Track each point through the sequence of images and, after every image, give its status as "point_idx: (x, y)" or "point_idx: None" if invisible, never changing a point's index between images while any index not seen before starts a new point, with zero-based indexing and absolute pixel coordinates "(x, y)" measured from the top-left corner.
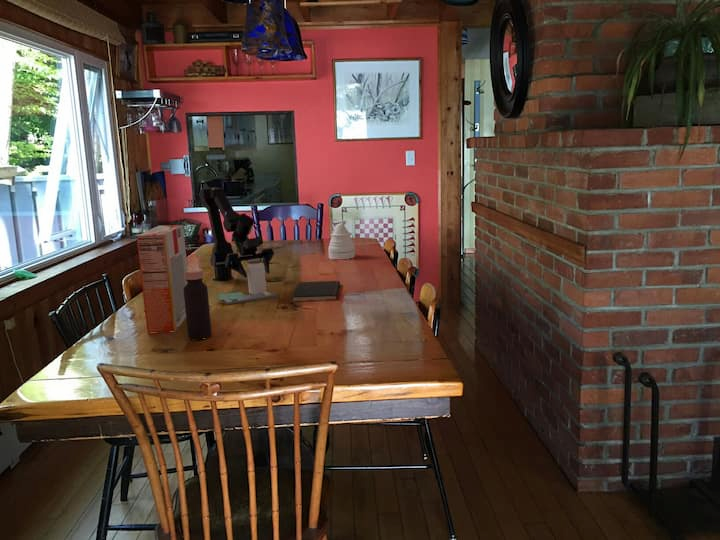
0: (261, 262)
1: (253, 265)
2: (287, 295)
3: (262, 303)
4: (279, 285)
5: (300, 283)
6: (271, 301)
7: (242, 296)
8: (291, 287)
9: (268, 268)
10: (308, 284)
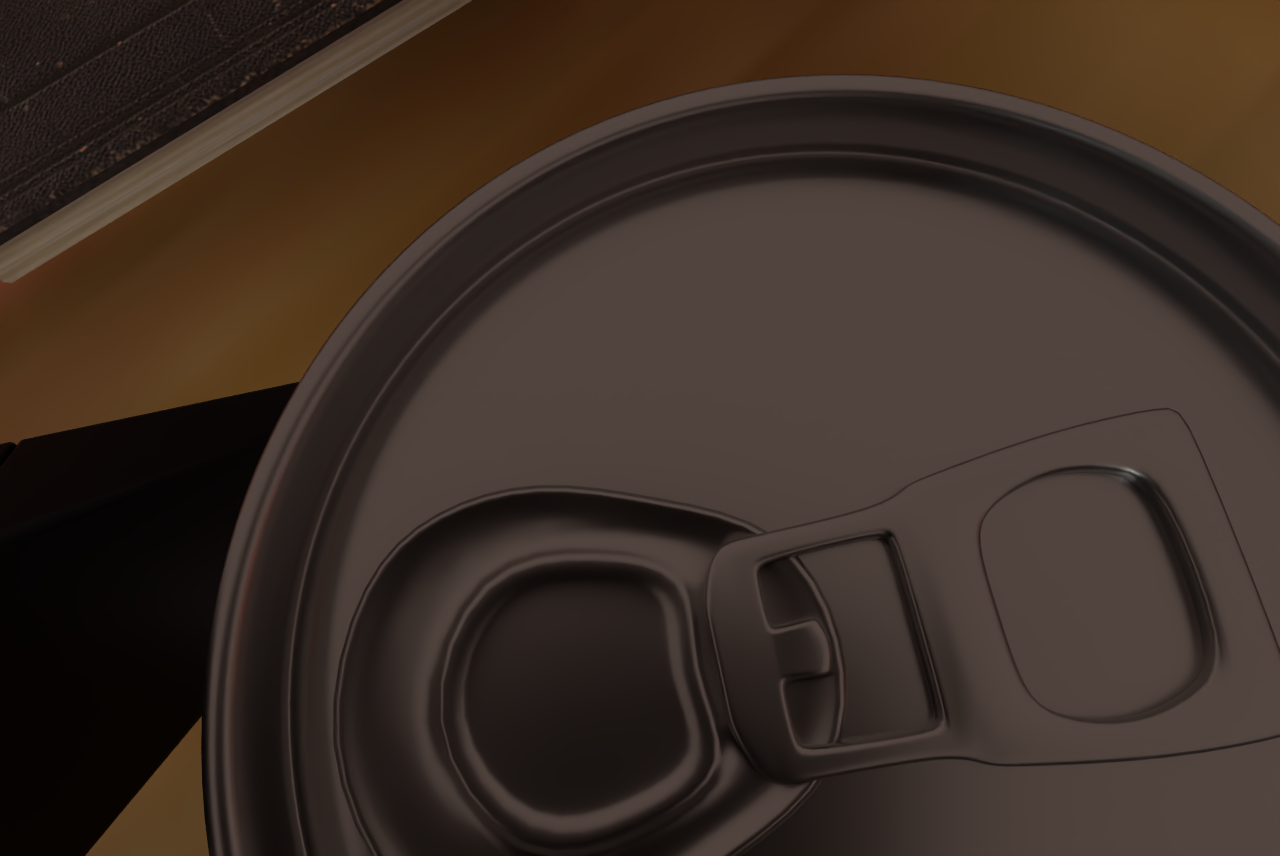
0: (734, 83)
1: (1273, 375)
2: (597, 59)
3: (1169, 39)
4: None
5: (33, 174)
6: (1000, 12)
7: None
8: (121, 369)
9: (256, 405)
10: (61, 15)
